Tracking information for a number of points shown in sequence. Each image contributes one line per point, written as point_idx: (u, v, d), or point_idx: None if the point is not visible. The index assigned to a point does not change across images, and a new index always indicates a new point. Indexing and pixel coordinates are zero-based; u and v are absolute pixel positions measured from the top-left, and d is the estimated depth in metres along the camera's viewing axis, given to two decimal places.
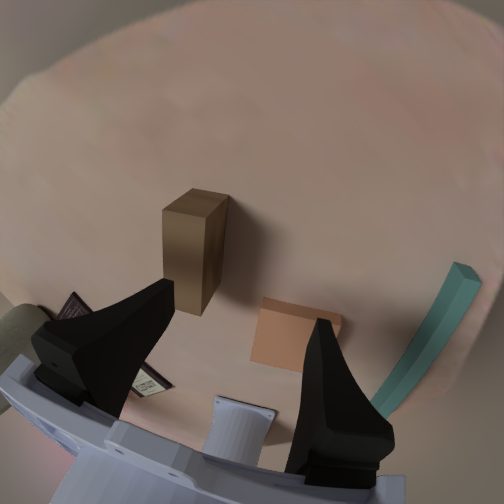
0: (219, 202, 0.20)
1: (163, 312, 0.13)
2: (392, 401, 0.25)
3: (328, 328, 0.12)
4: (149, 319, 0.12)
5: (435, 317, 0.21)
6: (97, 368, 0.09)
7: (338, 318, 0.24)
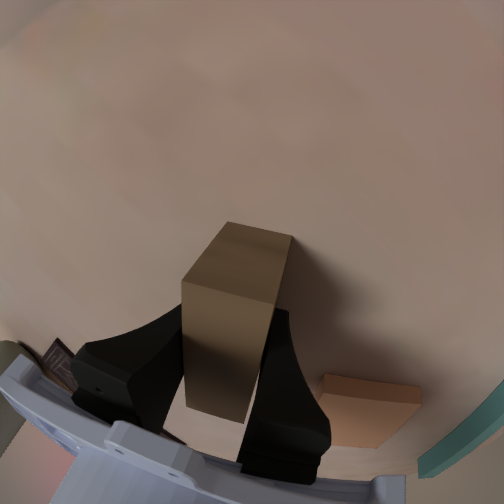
0: (283, 256, 0.11)
1: None
2: (450, 461, 0.17)
3: (283, 318, 0.12)
4: None
5: None
6: (147, 391, 0.08)
7: (417, 393, 0.15)
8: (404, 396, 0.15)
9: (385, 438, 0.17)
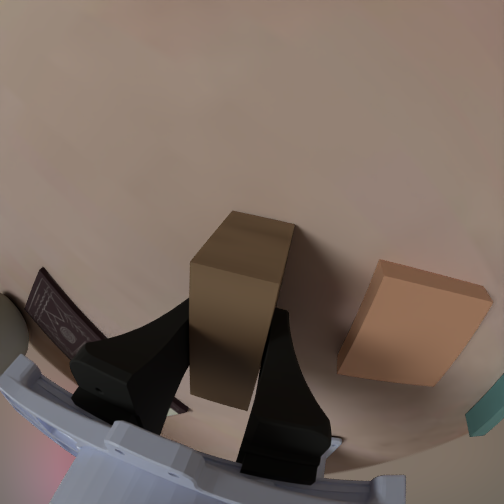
0: (287, 242, 0.12)
1: None
2: None
3: (283, 318, 0.12)
4: None
5: None
6: (147, 391, 0.08)
7: (484, 291, 0.12)
8: (472, 291, 0.12)
9: (447, 366, 0.14)
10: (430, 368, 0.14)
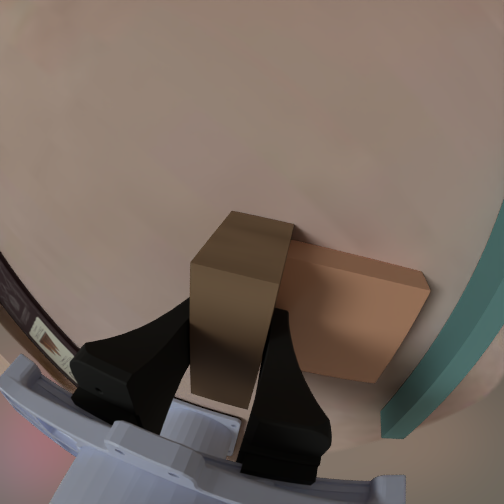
0: (286, 242, 0.12)
1: None
2: (422, 408, 0.14)
3: (283, 318, 0.12)
4: None
5: (500, 253, 0.10)
6: (147, 390, 0.08)
7: (421, 279, 0.13)
8: (403, 278, 0.12)
9: (385, 362, 0.14)
10: (364, 362, 0.15)
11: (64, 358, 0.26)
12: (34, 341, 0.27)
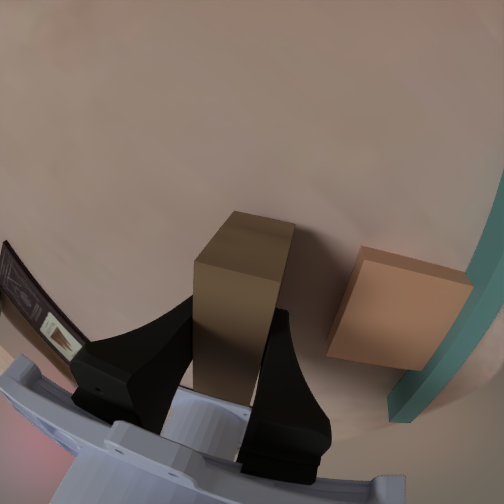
0: (287, 241, 0.12)
1: None
2: (427, 391, 0.16)
3: (283, 318, 0.12)
4: (191, 333, 0.12)
5: (495, 239, 0.11)
6: (147, 391, 0.08)
7: (465, 276, 0.13)
8: (453, 276, 0.13)
9: (432, 350, 0.15)
10: (416, 352, 0.15)
11: (75, 353, 0.27)
12: (45, 337, 0.28)
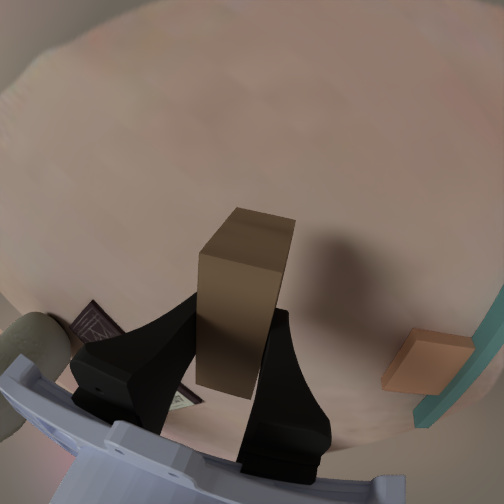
0: (289, 236, 0.13)
1: None
2: (441, 407, 0.22)
3: (283, 318, 0.12)
4: (191, 333, 0.12)
5: (492, 323, 0.18)
6: (147, 391, 0.08)
7: (471, 341, 0.20)
8: (463, 343, 0.20)
9: (446, 383, 0.22)
10: (436, 384, 0.22)
11: None
12: None
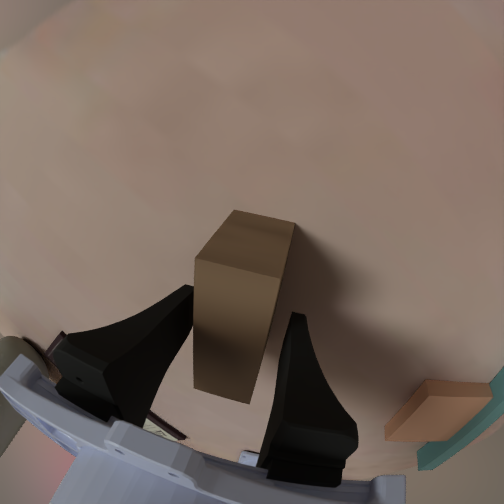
0: (288, 239, 0.12)
1: (186, 319, 0.13)
2: (449, 453, 0.17)
3: (301, 322, 0.12)
4: (173, 327, 0.12)
5: None
6: (126, 382, 0.08)
7: (488, 388, 0.15)
8: (481, 392, 0.15)
9: (457, 430, 0.17)
10: (446, 432, 0.17)
11: None
12: None
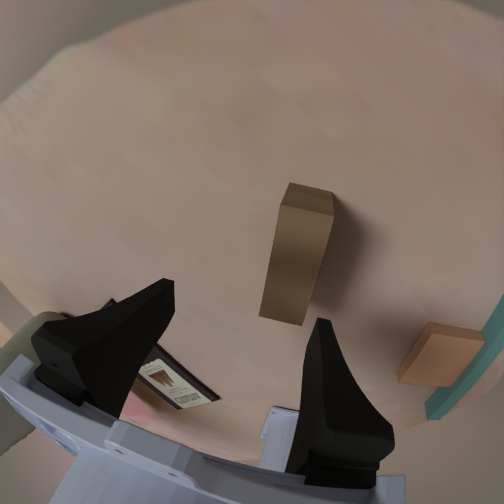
0: (331, 199, 0.18)
1: (163, 312, 0.13)
2: (452, 399, 0.23)
3: (328, 328, 0.12)
4: (149, 319, 0.12)
5: (500, 317, 0.19)
6: (97, 368, 0.09)
7: (480, 335, 0.21)
8: (474, 336, 0.21)
9: (458, 375, 0.23)
10: (448, 376, 0.23)
11: (177, 388, 0.35)
12: (139, 375, 0.36)
